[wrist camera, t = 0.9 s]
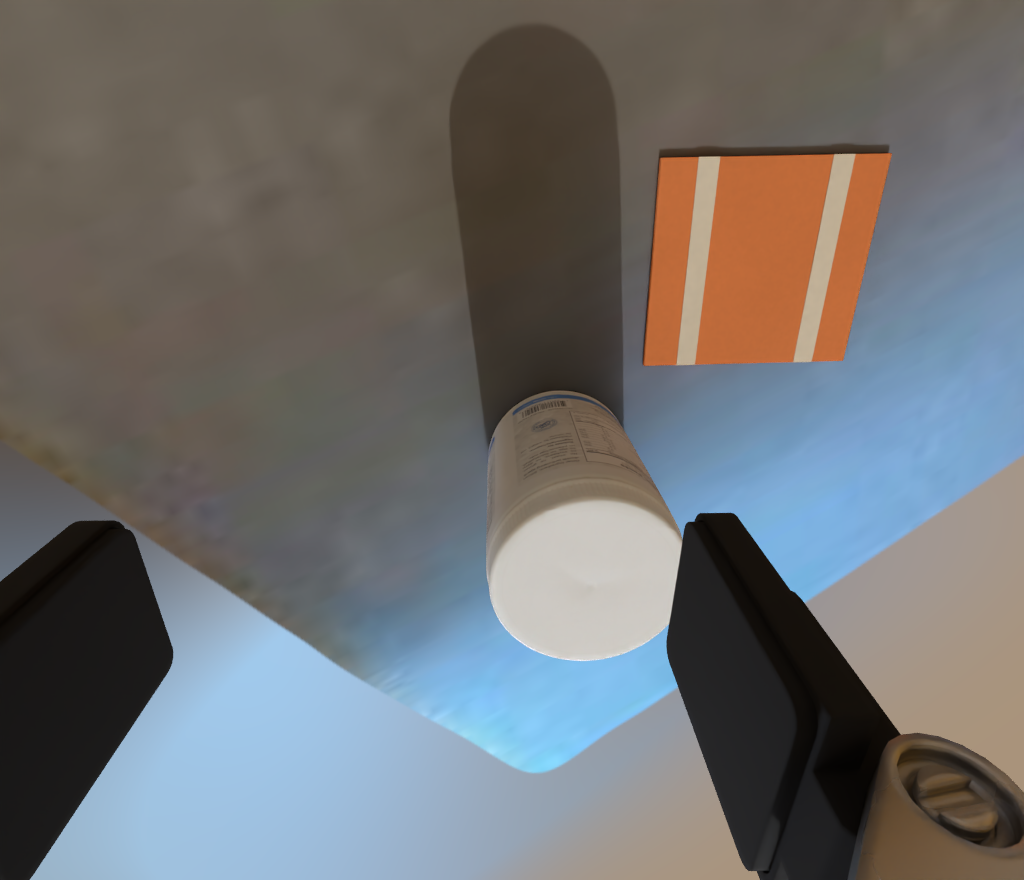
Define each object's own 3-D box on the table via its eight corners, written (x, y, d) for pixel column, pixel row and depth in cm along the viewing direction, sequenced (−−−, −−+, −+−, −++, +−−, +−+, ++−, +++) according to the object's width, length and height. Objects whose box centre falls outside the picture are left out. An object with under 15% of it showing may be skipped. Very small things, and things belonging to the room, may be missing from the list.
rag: (659, 157, 31) (661, 157, 31) (888, 153, 31) (892, 153, 31) (642, 364, 36) (644, 366, 36) (840, 359, 36) (843, 361, 36)
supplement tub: (574, 530, 41) (612, 694, 28) (462, 472, 39) (445, 620, 26) (653, 426, 38) (738, 557, 25) (536, 357, 36) (560, 459, 22)
